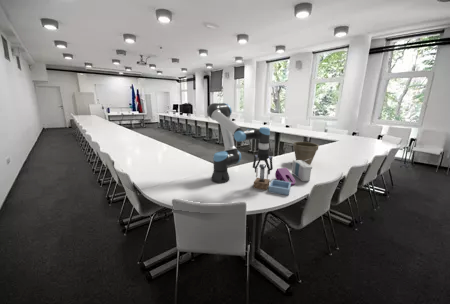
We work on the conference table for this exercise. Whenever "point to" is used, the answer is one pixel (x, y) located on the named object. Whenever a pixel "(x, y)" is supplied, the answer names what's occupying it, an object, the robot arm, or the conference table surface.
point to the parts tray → (280, 187)
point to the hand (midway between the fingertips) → (261, 177)
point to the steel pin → (262, 172)
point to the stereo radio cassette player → (301, 170)
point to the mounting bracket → (284, 175)
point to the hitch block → (261, 184)
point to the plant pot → (305, 151)
